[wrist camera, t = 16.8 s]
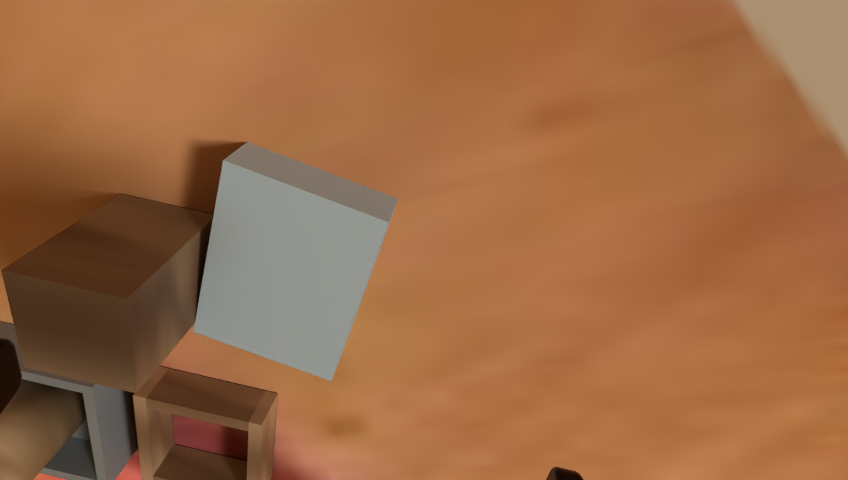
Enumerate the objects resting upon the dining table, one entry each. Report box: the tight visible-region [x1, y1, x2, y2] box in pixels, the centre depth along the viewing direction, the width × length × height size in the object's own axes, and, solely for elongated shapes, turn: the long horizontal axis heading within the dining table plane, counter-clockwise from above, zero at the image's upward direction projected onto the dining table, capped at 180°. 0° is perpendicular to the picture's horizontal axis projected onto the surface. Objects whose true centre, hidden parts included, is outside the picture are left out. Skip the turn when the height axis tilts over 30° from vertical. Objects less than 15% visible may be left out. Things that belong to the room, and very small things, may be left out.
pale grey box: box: [194, 142, 398, 381], centre depth 22 cm, size 8×6×2 cm
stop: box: [1, 194, 214, 393], centre depth 20 cm, size 4×4×6 cm
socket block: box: [133, 366, 278, 480], centre depth 27 cm, size 6×6×2 cm
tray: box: [0, 322, 137, 480], centre depth 27 cm, size 7×7×2 cm
